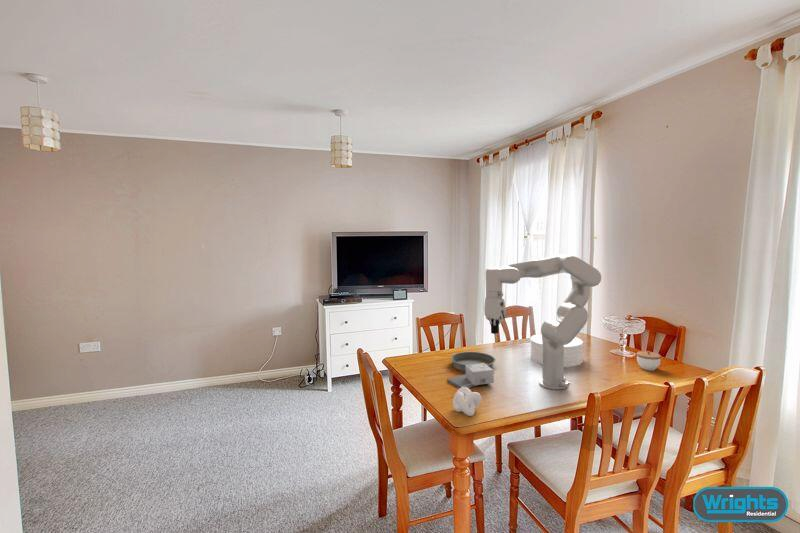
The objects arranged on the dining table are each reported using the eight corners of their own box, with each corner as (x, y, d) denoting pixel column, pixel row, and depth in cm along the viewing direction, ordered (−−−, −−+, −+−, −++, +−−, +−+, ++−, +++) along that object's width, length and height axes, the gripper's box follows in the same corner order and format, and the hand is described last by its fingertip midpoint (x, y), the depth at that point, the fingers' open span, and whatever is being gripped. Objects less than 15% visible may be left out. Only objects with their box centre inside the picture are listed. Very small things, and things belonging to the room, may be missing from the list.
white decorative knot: (476, 404, 164) (476, 383, 163) (486, 416, 152) (486, 395, 151) (450, 406, 162) (450, 386, 161) (459, 419, 150) (459, 397, 150)
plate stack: (549, 349, 240) (549, 331, 239) (592, 360, 216) (593, 340, 215) (520, 357, 224) (520, 338, 223) (563, 371, 201) (563, 349, 200)
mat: (484, 383, 186) (484, 380, 186) (462, 389, 179) (462, 386, 179) (468, 375, 197) (468, 373, 197) (447, 381, 190) (447, 378, 190)
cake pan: (480, 377, 195) (480, 368, 194) (442, 366, 212) (441, 359, 211) (503, 365, 212) (503, 357, 212) (466, 356, 229) (466, 349, 229)
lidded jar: (636, 363, 208) (636, 347, 208) (659, 367, 203) (660, 349, 202) (636, 370, 199) (636, 352, 199) (661, 373, 194) (661, 355, 193)
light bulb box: (494, 383, 182) (485, 375, 193) (493, 369, 182) (484, 362, 193) (473, 385, 180) (465, 377, 191) (472, 371, 180) (464, 364, 191)
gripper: (512, 295, 172) (512, 335, 173) (489, 291, 185) (489, 328, 186) (499, 297, 168) (500, 337, 170) (477, 293, 181) (478, 331, 183)
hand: (494, 333), depth 178 cm, fingers closed
